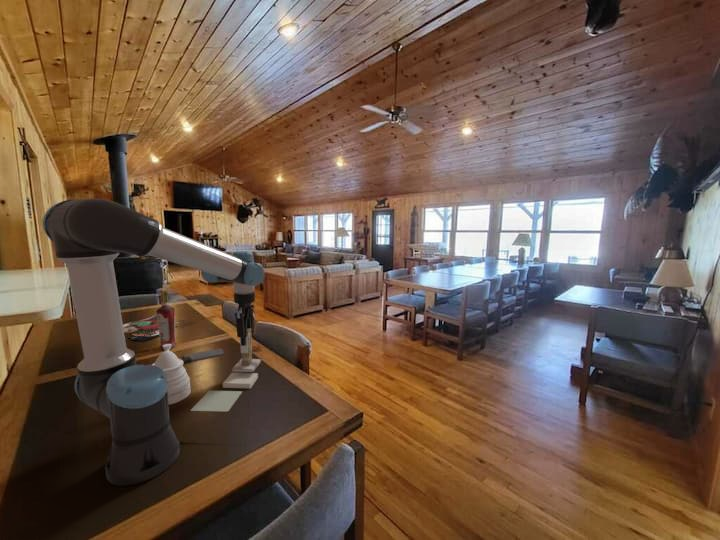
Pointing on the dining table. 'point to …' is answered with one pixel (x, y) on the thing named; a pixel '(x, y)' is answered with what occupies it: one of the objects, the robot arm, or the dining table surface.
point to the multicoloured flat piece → (143, 329)
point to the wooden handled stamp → (247, 358)
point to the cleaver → (201, 355)
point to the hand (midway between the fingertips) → (246, 350)
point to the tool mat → (217, 401)
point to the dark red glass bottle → (166, 321)
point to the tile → (240, 380)
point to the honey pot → (174, 375)
